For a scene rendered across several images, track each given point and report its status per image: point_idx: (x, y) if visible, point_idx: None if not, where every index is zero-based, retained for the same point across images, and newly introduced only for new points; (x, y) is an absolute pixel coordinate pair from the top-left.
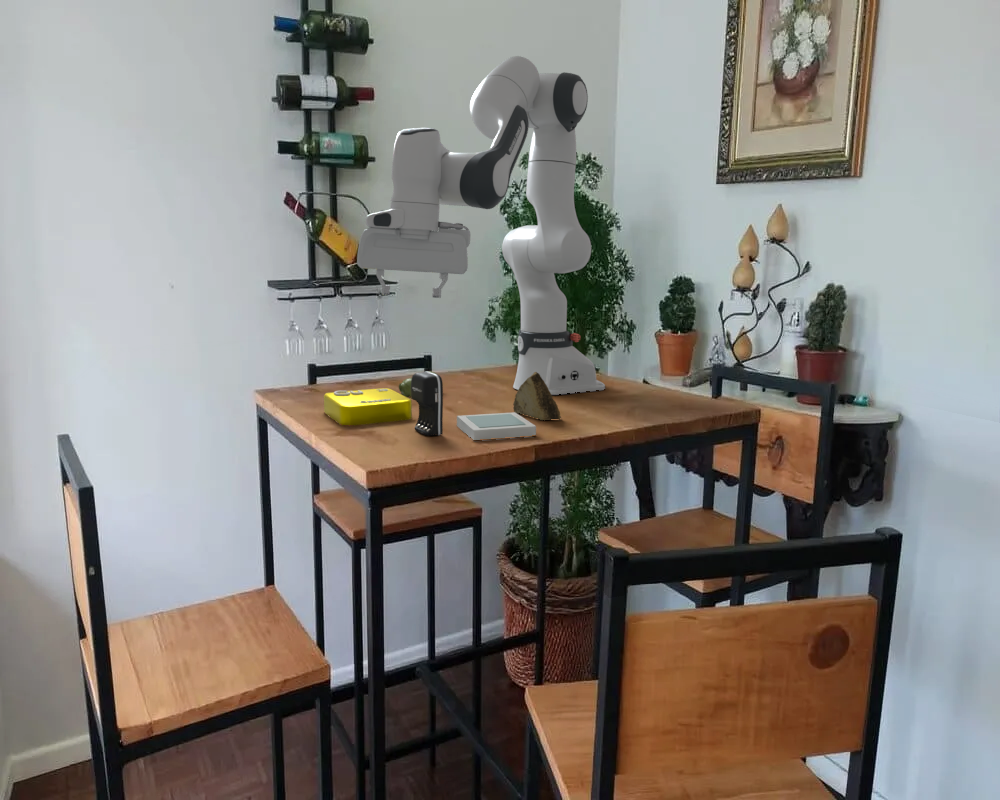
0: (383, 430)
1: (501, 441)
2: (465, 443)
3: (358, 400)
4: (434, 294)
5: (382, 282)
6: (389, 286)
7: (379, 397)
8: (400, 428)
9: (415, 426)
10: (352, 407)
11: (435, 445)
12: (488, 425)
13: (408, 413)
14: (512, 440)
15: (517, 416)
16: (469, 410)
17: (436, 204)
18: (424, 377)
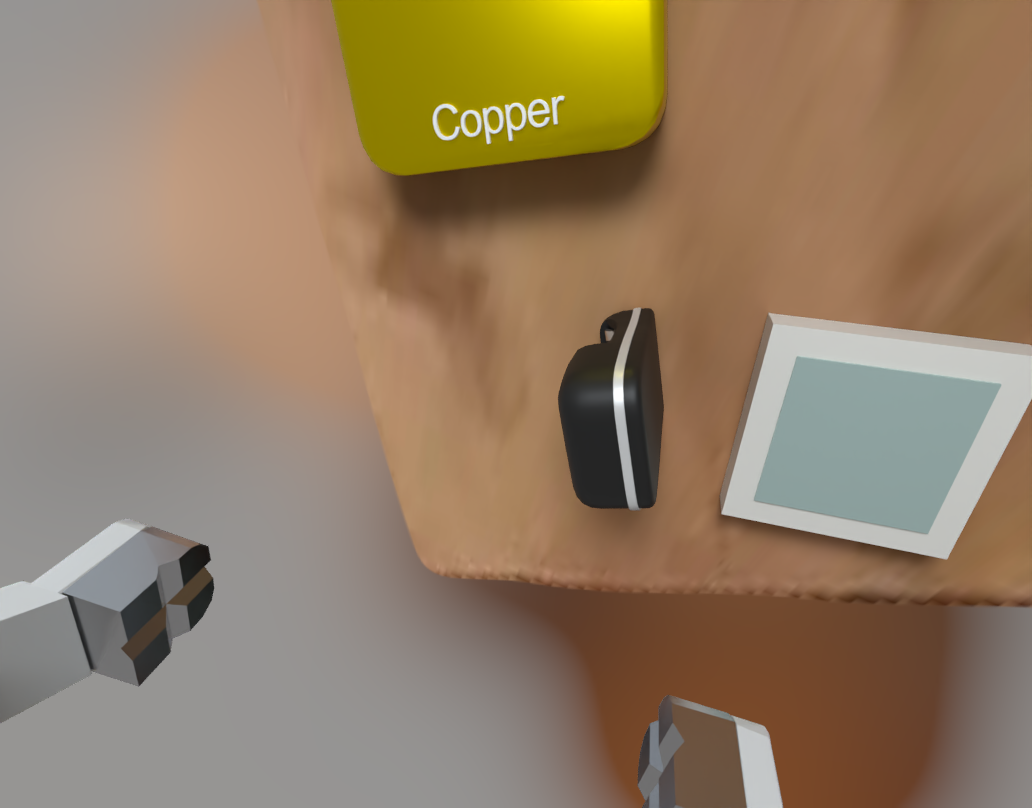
0: (513, 277)
1: (794, 529)
2: (687, 502)
3: (432, 70)
4: (650, 789)
5: (31, 691)
6: (140, 679)
7: (530, 20)
8: (570, 271)
9: (604, 325)
10: (404, 175)
11: None
12: (794, 496)
13: (638, 142)
14: None
15: (999, 424)
16: (1008, 29)
17: None
18: (580, 493)
